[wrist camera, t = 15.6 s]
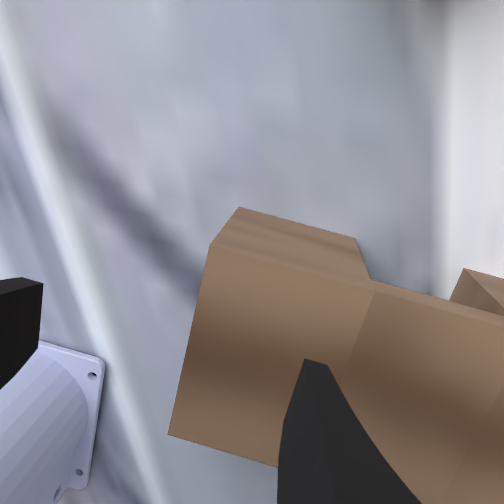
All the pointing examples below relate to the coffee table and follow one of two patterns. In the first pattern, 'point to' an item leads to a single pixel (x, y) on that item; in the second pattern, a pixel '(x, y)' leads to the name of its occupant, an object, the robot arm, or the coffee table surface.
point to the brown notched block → (346, 357)
